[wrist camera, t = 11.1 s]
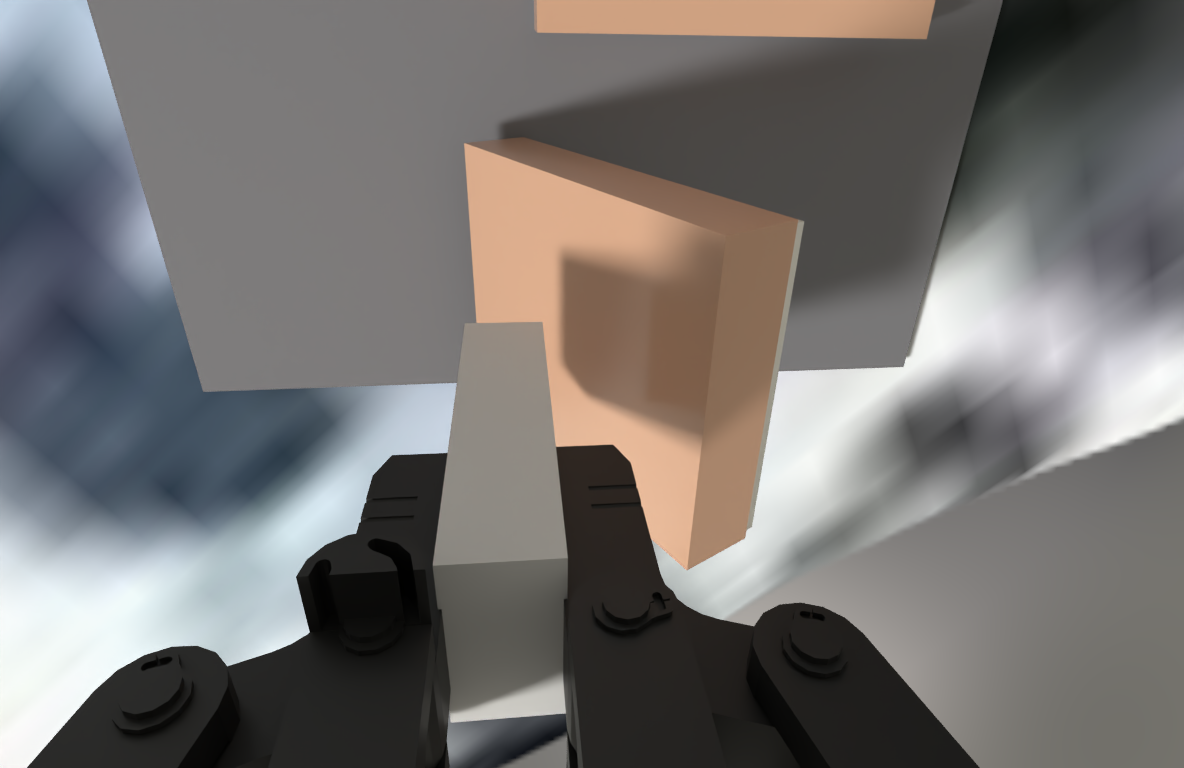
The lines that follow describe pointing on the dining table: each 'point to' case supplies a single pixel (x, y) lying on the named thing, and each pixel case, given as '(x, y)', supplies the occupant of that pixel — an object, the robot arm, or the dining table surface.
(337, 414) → the dining table surface
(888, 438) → the dining table surface
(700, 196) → the tan flat block
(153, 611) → the dining table surface
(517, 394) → the robot arm
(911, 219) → the mat
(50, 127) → the dining table surface
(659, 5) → the tan rectangular block
